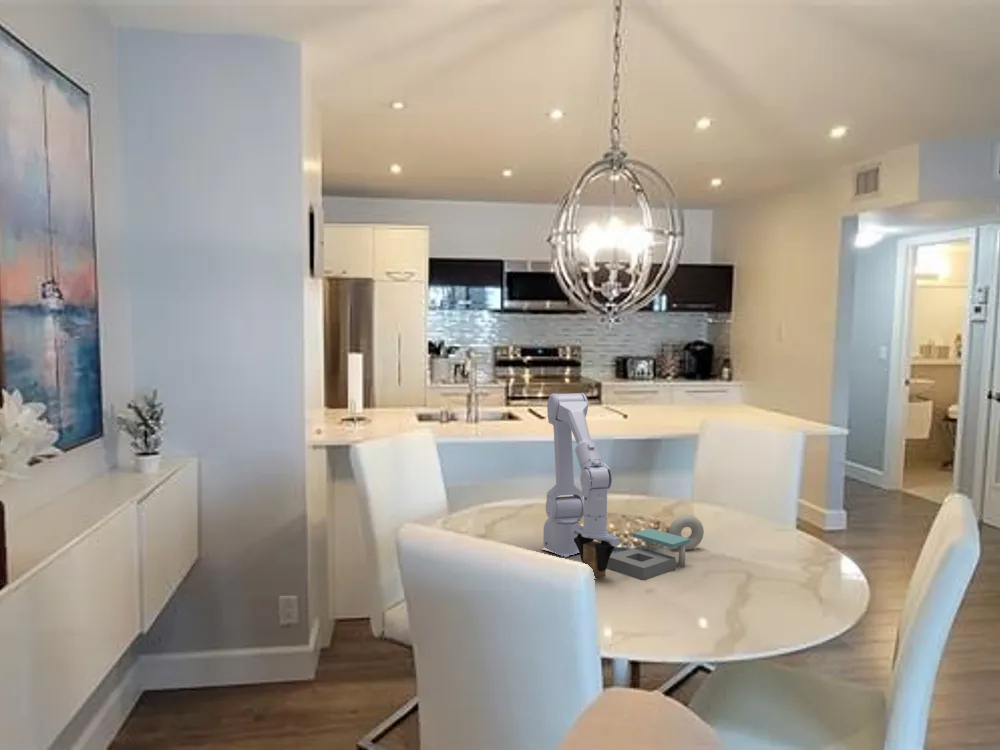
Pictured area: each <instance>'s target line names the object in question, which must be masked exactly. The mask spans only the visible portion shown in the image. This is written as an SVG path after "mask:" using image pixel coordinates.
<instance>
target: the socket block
mask: <svg viewBox="0 0 1000 750" xmlns="http://www.w3.org/2000/svg"><path fill="white" fill-rule="evenodd" d="M606 569H609V570H612V571H616V572H618V573H622V574H625V575H627V576H631V577H633V578H637V579H639V580H642V581H645V580H648V579H651V578H653V577H656V576H659V575H662V574H666V573H668V572H670V571H674V570H676V557H674V556H672V555H668V554H665V553H662V552H658V551H655V550H652V549H651V550H648V549H645V547H640V546H637V547H634V548H630V549H627V550H626V549H625V550H624V551H619V552H617V553H613V554H611V555H610V558H609V561H608V564H607V568H606ZM673 569H674V570H673Z"/></svg>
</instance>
